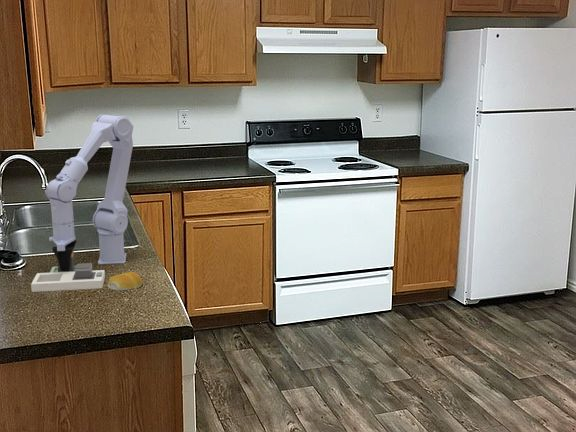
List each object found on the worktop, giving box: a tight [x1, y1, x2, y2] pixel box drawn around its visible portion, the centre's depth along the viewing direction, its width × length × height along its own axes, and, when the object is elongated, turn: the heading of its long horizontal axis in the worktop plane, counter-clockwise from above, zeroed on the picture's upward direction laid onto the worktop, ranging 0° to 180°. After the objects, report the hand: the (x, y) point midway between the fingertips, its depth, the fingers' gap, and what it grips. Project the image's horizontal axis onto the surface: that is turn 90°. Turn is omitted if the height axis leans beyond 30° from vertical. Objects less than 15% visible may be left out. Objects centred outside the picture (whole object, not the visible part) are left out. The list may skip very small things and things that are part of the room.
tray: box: [49, 265, 76, 273], centre depth 188 cm, size 9×9×1 cm
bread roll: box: [107, 271, 143, 292], centre depth 179 cm, size 8×9×4 cm
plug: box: [56, 249, 76, 272], centre depth 188 cm, size 4×4×7 cm
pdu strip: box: [30, 262, 106, 293], centre depth 179 cm, size 9×18×6 cm, turn 101°
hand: (66, 268), depth 188 cm, fingers closed on plug, 4 cm apart
